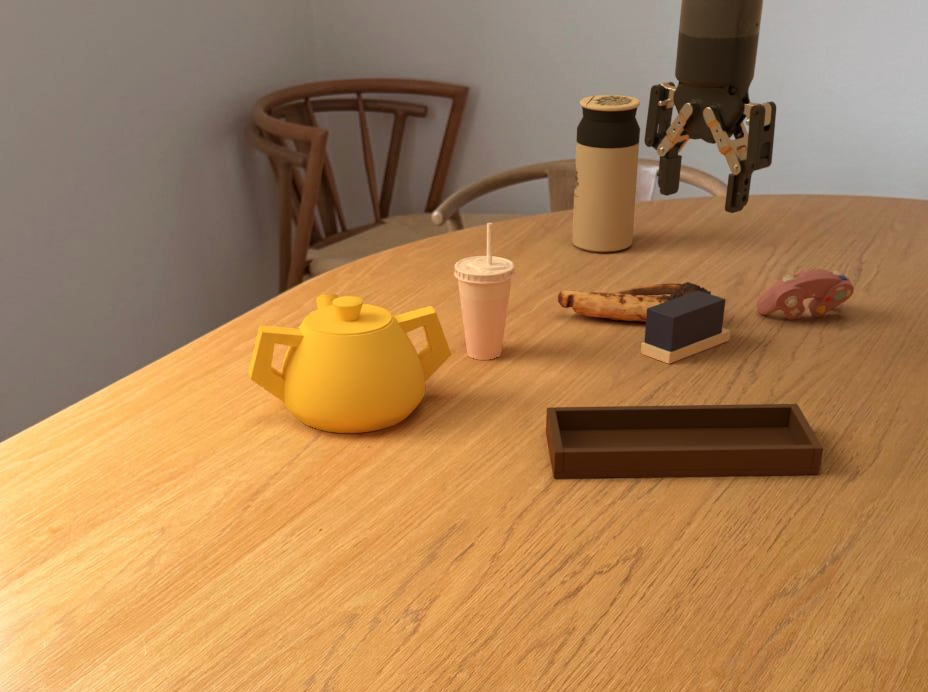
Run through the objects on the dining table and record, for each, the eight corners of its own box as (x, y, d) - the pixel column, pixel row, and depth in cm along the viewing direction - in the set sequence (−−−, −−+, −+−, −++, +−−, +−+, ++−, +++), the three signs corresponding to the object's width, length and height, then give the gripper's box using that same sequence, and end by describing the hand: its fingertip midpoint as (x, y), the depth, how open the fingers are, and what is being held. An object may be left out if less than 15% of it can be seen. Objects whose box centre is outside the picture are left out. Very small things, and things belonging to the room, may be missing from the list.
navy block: (701, 331, 141) (705, 287, 138) (729, 340, 138) (734, 296, 136) (640, 353, 136) (644, 308, 133) (668, 364, 133) (672, 318, 130)
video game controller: (764, 335, 144) (784, 290, 138) (751, 306, 146) (770, 260, 140) (842, 327, 146) (865, 282, 140) (828, 298, 148) (850, 253, 142)
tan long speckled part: (715, 309, 148) (562, 298, 150) (720, 269, 145) (565, 258, 148) (714, 335, 140) (554, 322, 143) (720, 293, 138) (556, 281, 140)
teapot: (418, 355, 136) (415, 253, 130) (472, 422, 121) (472, 311, 115) (234, 379, 131) (222, 275, 125) (268, 452, 117) (256, 338, 110)
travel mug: (639, 239, 169) (649, 96, 159) (621, 256, 163) (631, 109, 153) (583, 233, 172) (590, 92, 162) (563, 249, 166) (569, 104, 156)
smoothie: (496, 368, 133) (497, 235, 125) (443, 358, 135) (441, 226, 127) (523, 348, 137) (527, 218, 129) (472, 338, 140) (472, 210, 132)
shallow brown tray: (793, 428, 120) (797, 403, 118) (819, 474, 112) (823, 448, 110) (545, 432, 120) (546, 407, 118) (553, 478, 112) (554, 452, 110)
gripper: (805, 32, 116) (780, 210, 126) (687, 14, 125) (671, 181, 134) (755, 42, 112) (732, 225, 122) (636, 22, 121) (623, 194, 130)
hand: (700, 202), depth 128 cm, fingers open, 8 cm apart
